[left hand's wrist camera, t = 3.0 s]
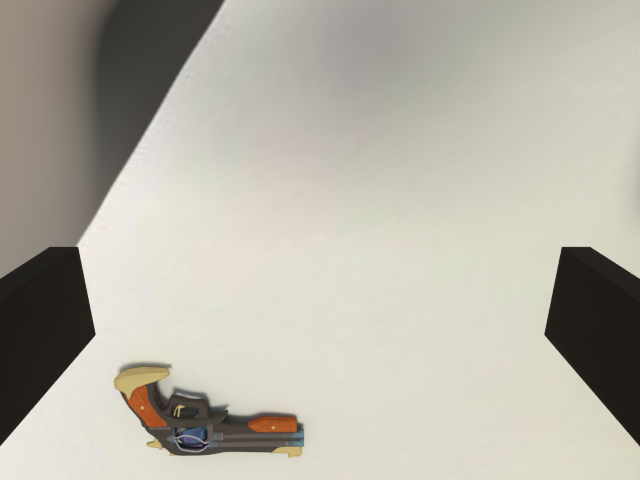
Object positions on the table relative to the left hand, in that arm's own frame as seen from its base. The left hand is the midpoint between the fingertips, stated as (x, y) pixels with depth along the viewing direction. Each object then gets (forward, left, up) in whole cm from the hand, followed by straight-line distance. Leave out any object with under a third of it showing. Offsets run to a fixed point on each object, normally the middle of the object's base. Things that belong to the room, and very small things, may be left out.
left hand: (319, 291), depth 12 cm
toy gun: (+28, +7, -27) cm, 40 cm away
